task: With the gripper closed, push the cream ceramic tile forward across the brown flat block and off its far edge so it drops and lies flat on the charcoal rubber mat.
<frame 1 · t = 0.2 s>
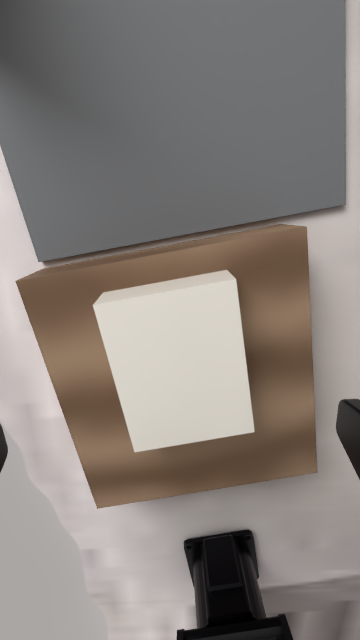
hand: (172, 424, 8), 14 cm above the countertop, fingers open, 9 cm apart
mat: (169, 110, 18), on the countertop
tile: (179, 353, 19), point 4 cm above the countertop, touching brown flat block
brown flat block: (183, 360, 23), on the countertop
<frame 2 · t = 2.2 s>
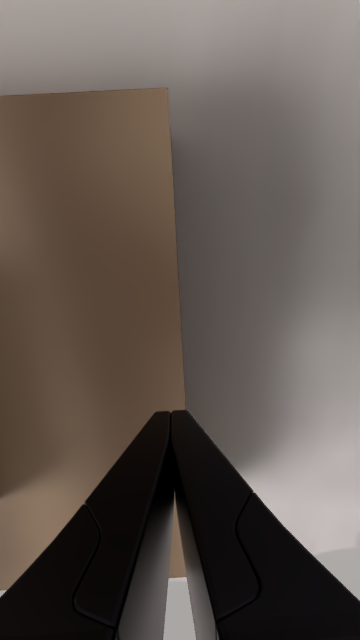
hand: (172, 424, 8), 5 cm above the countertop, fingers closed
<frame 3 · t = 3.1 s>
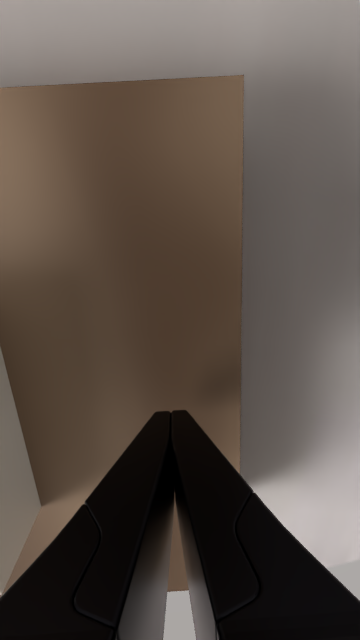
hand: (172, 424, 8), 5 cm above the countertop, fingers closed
brown flat block: (14, 359, 13), on the countertop
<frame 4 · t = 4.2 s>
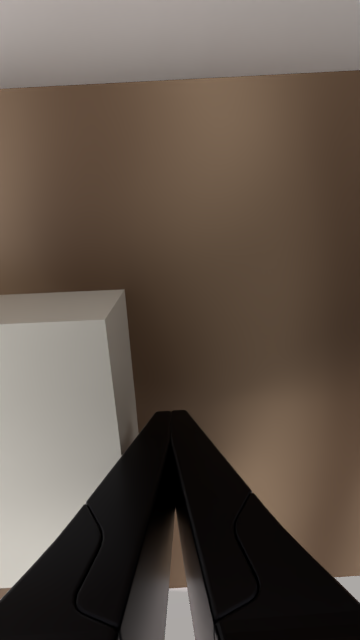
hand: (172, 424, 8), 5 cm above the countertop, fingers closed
brown flat block: (146, 350, 13), on the countertop
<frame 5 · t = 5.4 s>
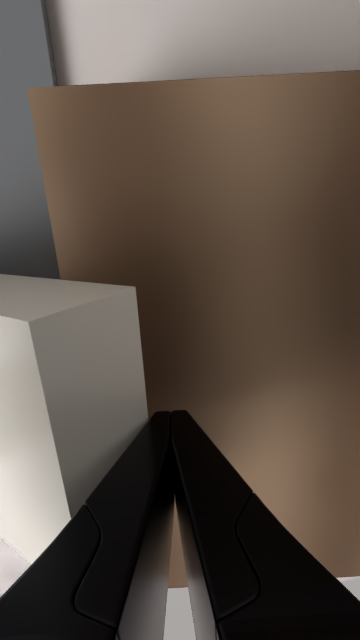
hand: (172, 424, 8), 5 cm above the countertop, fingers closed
tile: (38, 382, 10), point 3 cm above the countertop, tilted 34°, touching gripper, mat
brown flat block: (312, 340, 13), on the countertop
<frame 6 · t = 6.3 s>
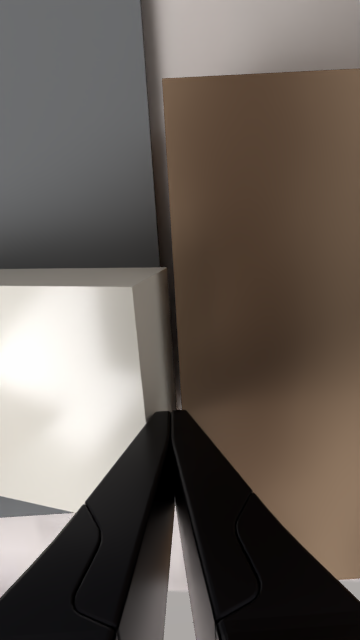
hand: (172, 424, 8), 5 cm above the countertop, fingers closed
tile: (53, 366, 11), point 2 cm above the countertop, tilted 17°, touching gripper
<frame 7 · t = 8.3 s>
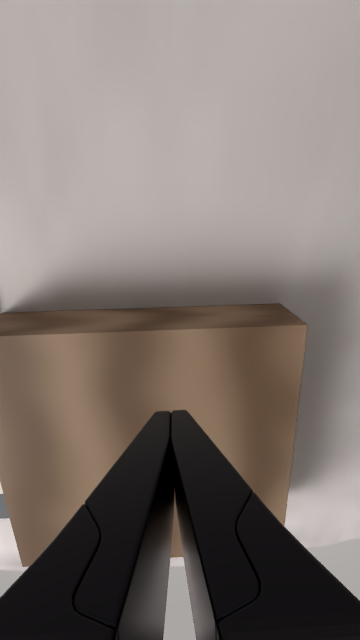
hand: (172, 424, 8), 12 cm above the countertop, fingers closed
brown flat block: (150, 418, 22), on the countertop
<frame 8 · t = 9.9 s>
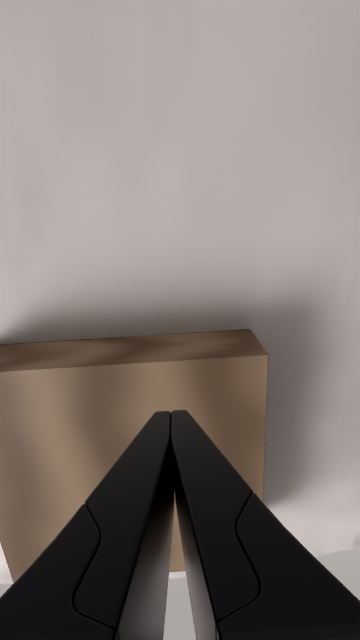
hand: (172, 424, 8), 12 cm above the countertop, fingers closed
brown flat block: (132, 439, 23), on the countertop
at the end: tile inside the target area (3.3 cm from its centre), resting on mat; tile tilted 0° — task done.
